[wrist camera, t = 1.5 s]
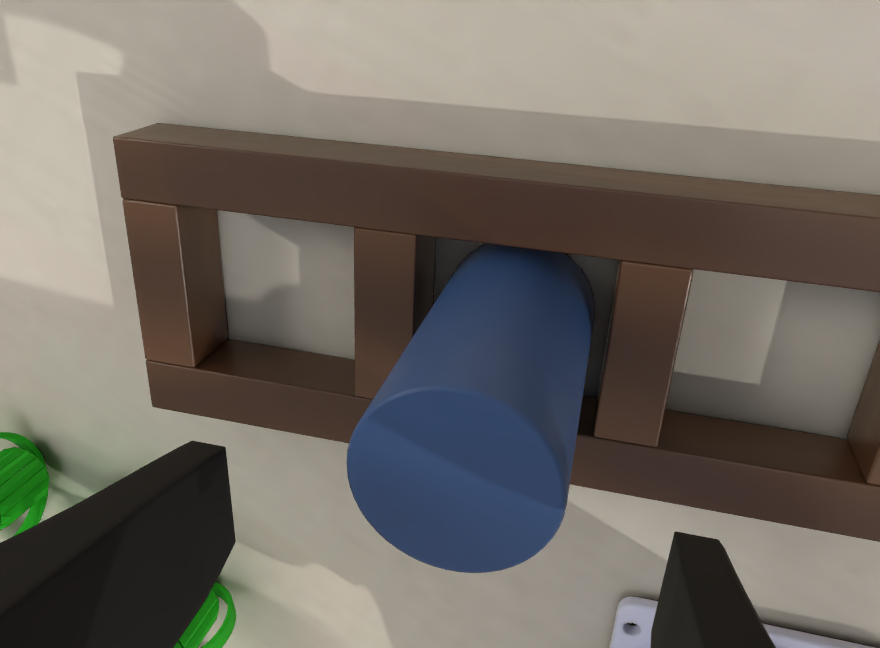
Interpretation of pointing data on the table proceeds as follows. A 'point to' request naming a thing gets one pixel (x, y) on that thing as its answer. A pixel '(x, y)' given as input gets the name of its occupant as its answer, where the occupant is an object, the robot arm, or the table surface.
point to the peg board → (519, 225)
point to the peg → (480, 415)
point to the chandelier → (27, 489)
